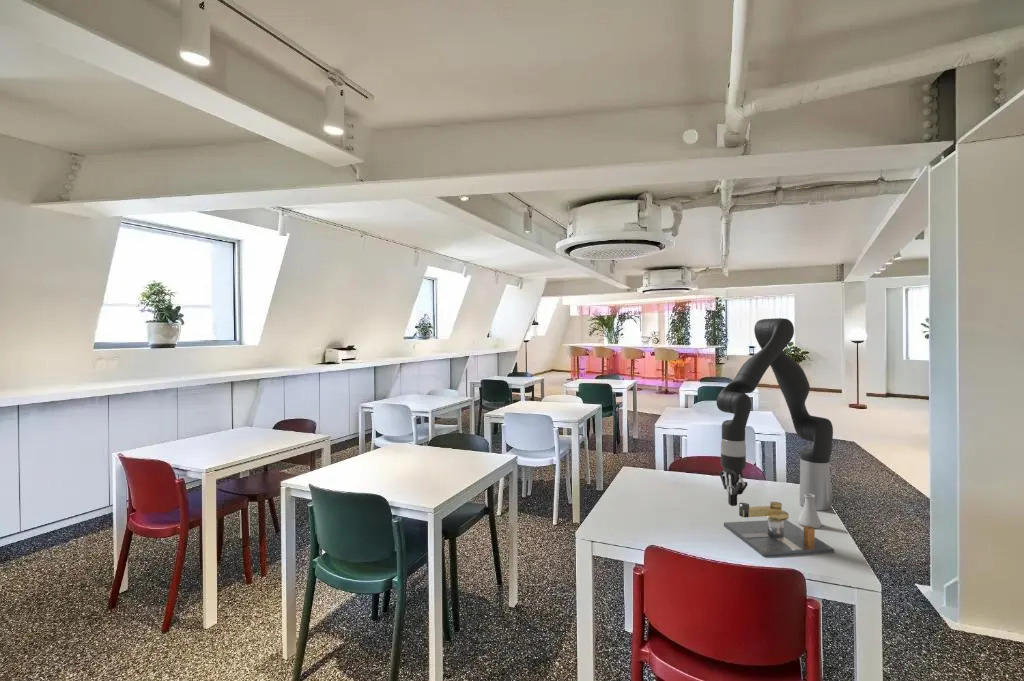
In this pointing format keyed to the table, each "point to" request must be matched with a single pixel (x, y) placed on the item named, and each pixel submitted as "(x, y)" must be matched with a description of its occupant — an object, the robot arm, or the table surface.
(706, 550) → the table surface
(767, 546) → the lock base
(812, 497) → the flask
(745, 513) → the brass lever handle
